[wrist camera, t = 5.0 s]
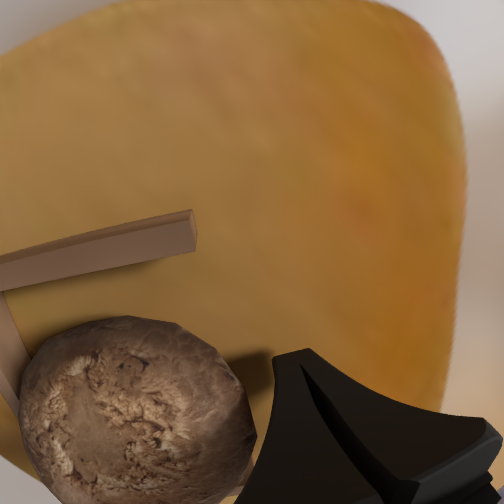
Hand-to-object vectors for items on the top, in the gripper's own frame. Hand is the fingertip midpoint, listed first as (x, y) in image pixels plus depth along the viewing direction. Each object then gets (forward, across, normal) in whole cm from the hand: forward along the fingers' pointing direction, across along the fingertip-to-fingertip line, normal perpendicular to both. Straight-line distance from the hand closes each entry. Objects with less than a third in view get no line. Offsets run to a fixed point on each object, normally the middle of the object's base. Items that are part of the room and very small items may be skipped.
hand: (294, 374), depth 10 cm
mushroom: (+1, +6, 0) cm, 6 cm away
